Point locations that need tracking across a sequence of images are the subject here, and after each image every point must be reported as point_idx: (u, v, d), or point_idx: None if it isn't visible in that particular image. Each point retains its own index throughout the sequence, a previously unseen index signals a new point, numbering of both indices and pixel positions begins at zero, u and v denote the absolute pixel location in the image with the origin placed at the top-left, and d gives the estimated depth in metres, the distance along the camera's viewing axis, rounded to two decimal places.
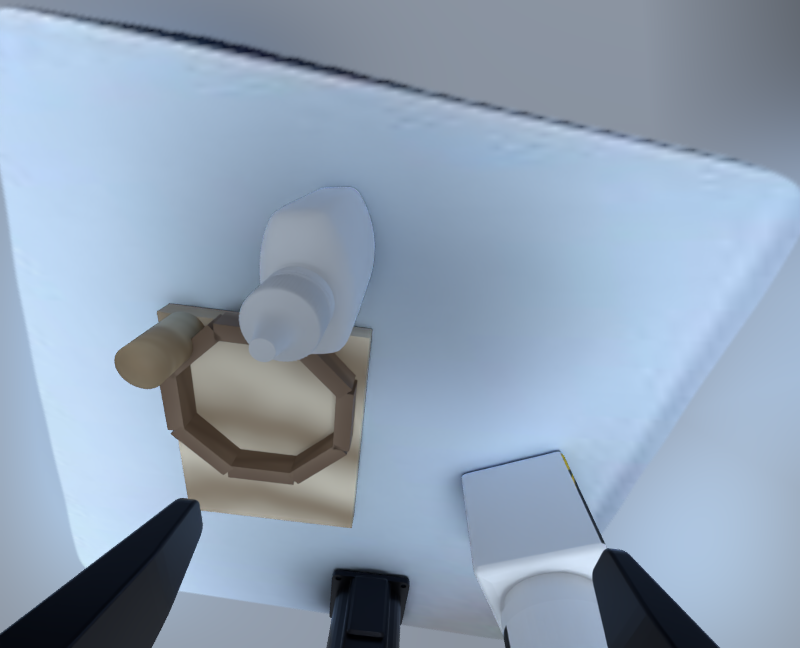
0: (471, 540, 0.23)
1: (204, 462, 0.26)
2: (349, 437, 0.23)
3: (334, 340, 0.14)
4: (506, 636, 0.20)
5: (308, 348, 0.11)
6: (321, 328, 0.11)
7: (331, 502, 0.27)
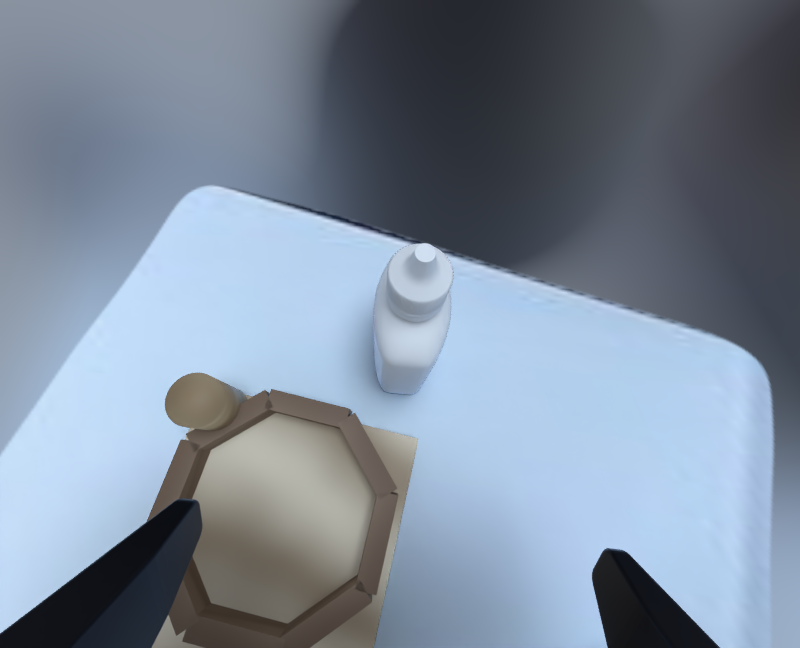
0: None
1: None
2: (381, 567, 0.18)
3: (432, 343, 0.16)
4: None
5: (441, 290, 0.14)
6: (452, 279, 0.14)
7: None
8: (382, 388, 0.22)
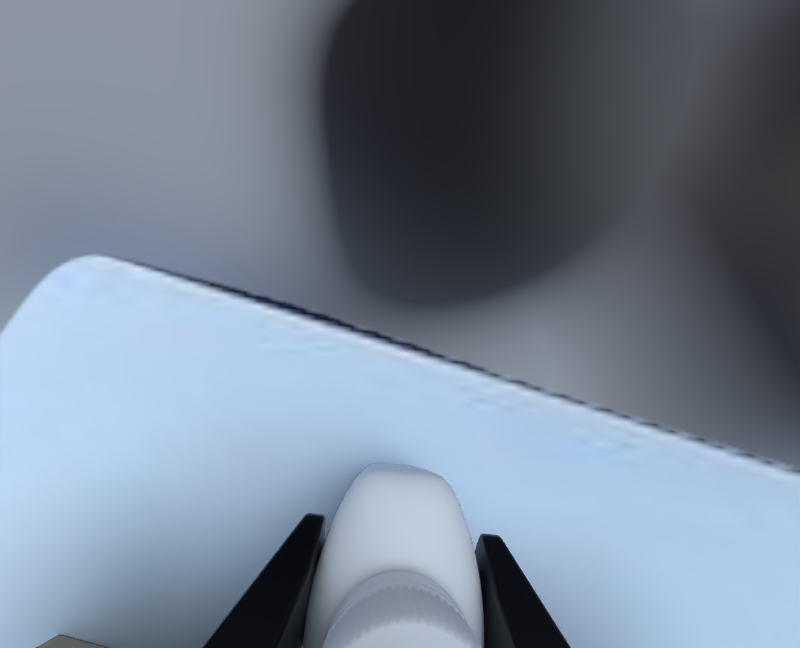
0: None
1: None
2: None
3: None
4: None
5: None
6: None
7: None
8: None
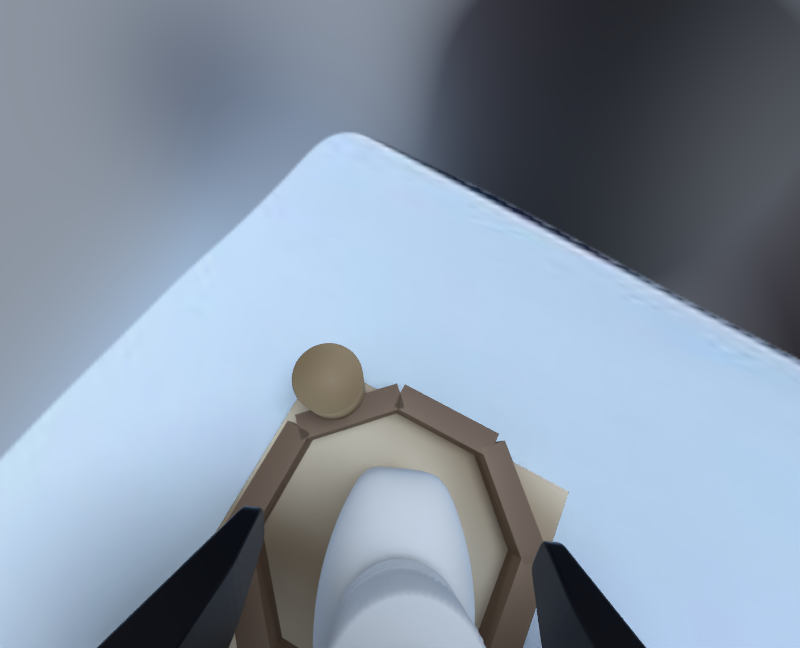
0: None
1: None
2: None
3: None
4: None
5: None
6: None
7: None
8: None
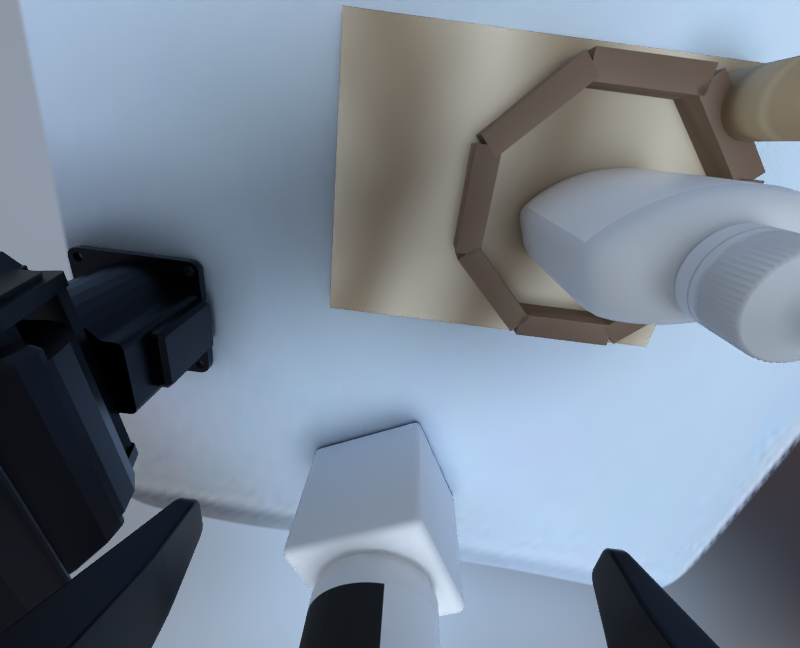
0: (419, 490, 0.19)
1: (467, 74, 0.15)
2: (539, 335, 0.18)
3: (633, 315, 0.10)
4: (376, 592, 0.16)
5: (765, 354, 0.07)
6: (788, 360, 0.08)
7: (381, 283, 0.18)
8: (523, 209, 0.16)
